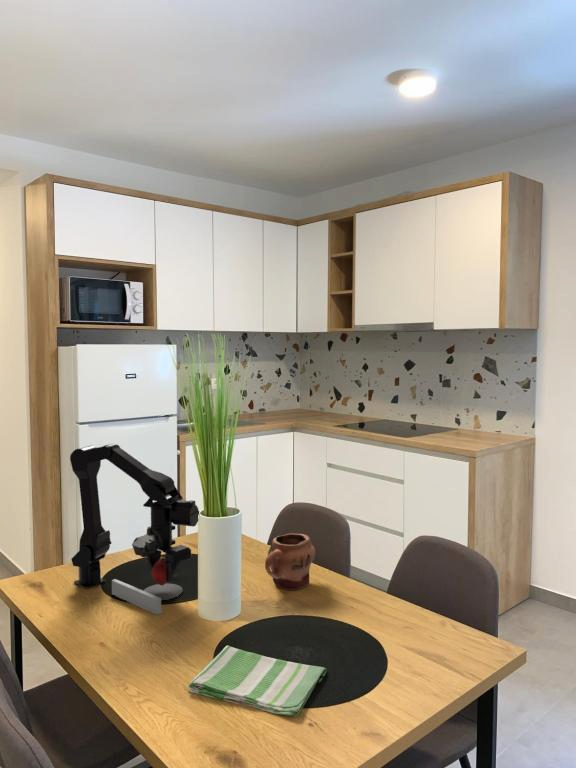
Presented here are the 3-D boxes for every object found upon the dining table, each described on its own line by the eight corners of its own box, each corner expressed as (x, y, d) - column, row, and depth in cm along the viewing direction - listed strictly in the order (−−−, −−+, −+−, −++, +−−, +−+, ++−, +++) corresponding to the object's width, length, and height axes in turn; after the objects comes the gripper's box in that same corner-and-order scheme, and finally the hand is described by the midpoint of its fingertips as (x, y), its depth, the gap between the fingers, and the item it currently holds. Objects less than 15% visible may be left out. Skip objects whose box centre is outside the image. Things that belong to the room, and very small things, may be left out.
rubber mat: (134, 594, 167) (134, 592, 167) (165, 582, 176) (165, 580, 176) (159, 604, 160) (159, 602, 160) (190, 591, 169) (190, 590, 169)
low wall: (111, 594, 167) (111, 580, 167) (115, 593, 168) (115, 578, 168) (157, 614, 154) (157, 599, 154) (161, 613, 155) (160, 598, 155)
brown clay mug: (287, 603, 161) (287, 552, 160) (250, 593, 168) (250, 544, 167) (324, 579, 178) (324, 532, 177) (289, 571, 184) (289, 526, 184)
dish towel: (297, 723, 111) (297, 708, 111) (185, 696, 119) (185, 683, 119) (326, 674, 127) (326, 661, 127) (227, 653, 136) (227, 641, 136)
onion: (170, 589, 165) (169, 560, 165) (149, 589, 165) (148, 560, 165) (174, 581, 171) (174, 553, 170) (154, 581, 171) (154, 553, 170)
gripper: (116, 523, 167) (117, 578, 168) (159, 536, 155) (160, 596, 156) (149, 514, 175) (150, 567, 176) (192, 526, 163) (192, 583, 164)
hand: (162, 578), depth 168 cm, fingers closed on onion, 6 cm apart
